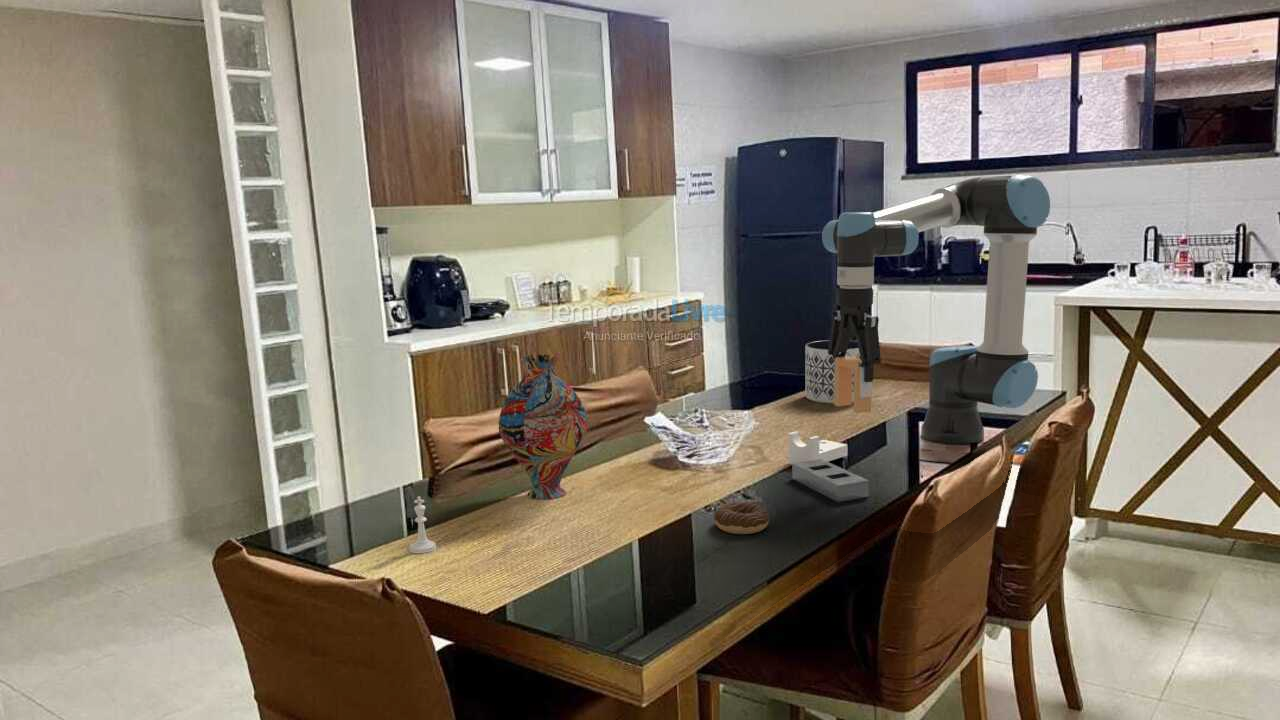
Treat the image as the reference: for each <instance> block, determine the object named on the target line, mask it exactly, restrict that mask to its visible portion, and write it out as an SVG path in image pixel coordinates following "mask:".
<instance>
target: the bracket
mask: <svg viewBox="0 0 1280 720" xmlns="http://www.w3.org/2000/svg"><path fill="white" fill-rule="evenodd" d="M787 439H788V440H787V442H788V443H787V444H788V445H787V446H788V447H787V449H788V452H787V453H788V454H787V456H788V457H787V459H788V462H787V463H788V464H789V465H792V463H799V462H806V461H812V460H819V459H822V460H825V461H827V462H831V461H834V460H837V459H840V458H844V457H847V456H848V444H845V443H843V442H836V441H831V440H828V439H821V440H820V436H819V435H815V436H811V437H808V441H807V443H804V441H802V439H801V437H800V433H799V431H796V430H795V431H792V432H788V435H787Z"/></svg>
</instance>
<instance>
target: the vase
mask: <svg viewBox="0 0 1280 720" xmlns="http://www.w3.org/2000/svg"><path fill="white" fill-rule="evenodd" d="M559 358H560V357H559V355H556V354H549V353H548V354H547V353H546V354H544V353H542V354H529V355H525V356H523V357H521V358H520V361H521V362H522V363H523V364H524V367H525V374H524V376H523V378H522V379H521V380H520V381H519V382H518V383H517V385H515V387H513V388H512V389H511V391H509V394H508V395H507V397H506V399H505V401H504V402H503V405H502V407H501V410H500V413H499V418H498V432H499V436H500V438H501V440H502V441H503V443H504V444H505V446H506V447H507V448H508V450H509V451H510V452H511V454H512V455H513V457H514V458H515V459H516V460H517V462H518V463H519V465H520V466H521V468H522V469H523V471H524V472H525V473H526V475H527V477H528V478H529V481H530V483H531V486H532V488H531V490H529V491H528V492H527V494H526V496H527V497H528V498H530V499H533V500H540V501H543V500H544V501H546V500H554V499H559V498H561V497H564V496H565V495H567V491H566V490H565V489H564V488H562V487H561V482H562V479H563V478H562V477H563V476H564V474H565V471H566V469H567V467H568V466H569V464H570V462H571V460H572V459H573V457H574V455H575V453H576V451H577V450H578V448H579V446H580V444H581V443H582V442H583V440H584V437H585V435H586V433H587V430H588V417H587V413H586V409H585V407H584V404H583V403H582V400H581V399H580V397H579V396H578V394H577V393H576V392H575V390H574V389H573V388H572V387H571V386H570V385H568V383H566V381H564V380H563V379H562V378H560V377H559V376H558V374H557V372H556V371H555V369H556V367H555V365H556V363H557V361H558V360H559Z"/></svg>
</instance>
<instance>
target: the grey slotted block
mask: <svg viewBox="0 0 1280 720" xmlns="http://www.w3.org/2000/svg"><path fill="white" fill-rule="evenodd" d="M791 466H792V467H791V468H792V469H791V470H792V471H791V472H792V473H791V474H792V475H791V476H792V477H791V479H793V480H794V481H796V482H797V483H800V484H801V485H804V486H806V487H807V488H810V489H811V490H814V491H815V492H817V493H819V494H820V495H821V494H822V495H823V496H826V497H827V498H829V499H830V500H833V501H834V502H837V503H840V502H845V501H851V500H858V499H863V498H869V494H870V493H869V492H870V491H869V490H870V481H869V480H868V479H867V478H864V477H862V476H860V475H857V474H855V473H853V472H851V471H849V470H846V469H844V468H842V467H840V466H838V465H836V464H834V463H831V462H830V461H828V462H827V461H825V460H822V459H819V460H812V461H806V462H799V463H792V464H791Z"/></svg>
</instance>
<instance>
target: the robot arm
mask: <svg viewBox="0 0 1280 720" xmlns="http://www.w3.org/2000/svg"><path fill="white" fill-rule="evenodd" d="M1050 210H1051V199H1050V195H1049V191H1048V189H1047V187H1046V186H1045V185H1044V183H1043V181H1041V180H1040V179H1039V178H1037V177H1036V176H1032V175H1020V174H1015V175H1014V174H1013V175H1000V176H998V175H997V176H978V177H973V178H969V179H966V180H962V181H959V182H956V183H952V184H950V185H947V186H943V187H940V188H937V189H935V190H934V191H933V192H932V193H931V194H930V195H929V196H928V195H927V196H925V197H921V198H918V199H914V200H911V201H908V202H905V203H901V204H897V205H894V206H890V207H888V208H884V209H879V210H877V211H874V212H872V211H871V212H870V211H869V212H868V211H860V212H859V211H856V212H850V211H849V212H848V211H847V212H842V213H840V214H839V216H838V219H833V220H830V221H828V222H827V223H826V224H825V226H824V227H823V229H822V233H821V238H822V239H821V240H822V244H823V247H824V248H825V249H826V250H827V251H828V252H830V253H835V254H837V257H836V258H837V259H836V260H837V263H836V265H837V266H836V267H837V268H836V269H837V270H836V271H837V272H836V274H837V276H836V284H837V286H838V287H837V289H836V298H835V299H836V300H835V301H836V302H835V303H836V305H837V306H839V307H840V309H839V310H831V313H830V314H831V327H830V334H829V339H828V340H829V347H828V354H829V355H832V356H833V359H834V373H835V357H846V356H847V355H846V352H847V349H848V345H849V342H850V341H851V338H852V335H853V336H854V337H855V339H856V341H857V344H858V348H859V353H860V357H861V361H862V364H861V365H860V374H859V397H860V398H863V397H871V398H872V397H873V381H874V367H875V366H877V365H881V363H882V360H881V348H880V347H881V346H880V337H879V322H880V321H879V320H880V318H879V316H878V315H877V316H871V315H870V310H869V307H871V306H873V304H874V288H873V287H871V286H873V285H874V284H875V258H877V257H902V256H906V255H907V256H908V255H910V254H912V253H913V252H914V251H915V250H916V249H917V247H918V245H919V239H920V237H919V235H920V234H919V233H921V232H924V231H928V230H931V229H935V228H938V227H940V228H944V229H945V228H951V227H955V226H979V227H983V236H984V237H985V238H986V239H987V240H988V241H989V248H988V249H989V250H988V263H987V265H988V267H987V279H986V280H987V282H986V299H985V310H984V311H985V313H984V329H983V342H982V343H981V344H980V345H979V346H976V345H959V346H957V345H956V346H955V345H954V346H946V347H940V348H935V349H933V350H932V351H931V353H930V358H929V364H928V365H929V366H928V367H929V368H928V369H929V372H928V374H929V375H928V376H929V384H928V388H929V389H928V390H929V392H928V396H929V399H928V408H927V411H926V414H925V417H924V420H923V423H922V425H921V431H920V433H921V435H920V436H921V438H924V439H925V440H927V441H931V442H935V443H941V444H942V443H943V444H950V445H965V444H974V443H978V442H981V441H983V440H984V439H985V429H984V426H983V423H982V422H983V421H982V419H981V415H980V413H979V408H978V403H983V404H986V405H991V406H995V407H998V408H1006V409H1017V408H1020V407H1022V406H1024V405H1025V404H1026V403H1028V401H1029V400H1030V398H1031V397H1032V396H1033V395H1034V392H1035V391H1036V388H1037V385H1038V382H1039V381H1038V379H1039V374H1038V369H1037V367H1036V365H1035V364H1034V363H1033V362H1032V361H1030V360H1029V350H1028V349H1027V348H1026V347H1025V346H1024V345H1023V337H1024V336H1023V334H1024V319H1025V304H1026V293H1027V292H1026V291H1027V276H1028V265H1029V264H1028V262H1029V249H1030V247H1029V246H1030V242H1031V240H1033V239H1034V238H1035V237H1036V236H1037V235H1038V233H1037V232H1038V228H1039V227H1040V226H1043V225H1045V222H1046V221H1047V218H1048V217H1049V215H1050V212H1051V211H1050ZM833 348H835V349H833ZM834 389H835V382H834Z"/></svg>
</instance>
